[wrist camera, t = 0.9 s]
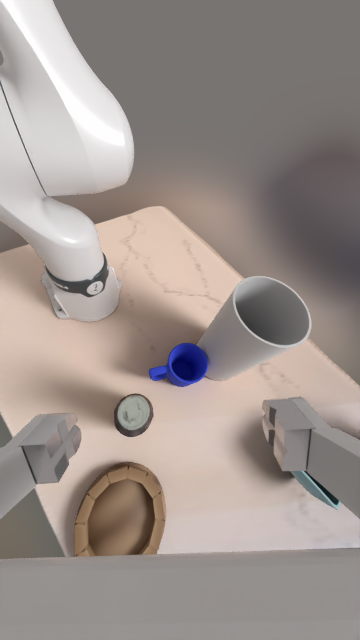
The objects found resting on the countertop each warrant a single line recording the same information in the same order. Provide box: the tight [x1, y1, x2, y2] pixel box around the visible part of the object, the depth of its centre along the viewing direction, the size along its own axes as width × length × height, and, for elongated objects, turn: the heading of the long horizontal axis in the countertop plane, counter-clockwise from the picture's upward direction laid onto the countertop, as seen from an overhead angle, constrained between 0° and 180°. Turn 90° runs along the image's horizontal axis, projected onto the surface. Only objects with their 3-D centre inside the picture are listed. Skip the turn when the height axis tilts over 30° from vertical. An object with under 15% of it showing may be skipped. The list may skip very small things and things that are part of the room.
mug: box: [149, 343, 208, 387], centre depth 42 cm, size 8×12×10 cm
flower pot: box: [290, 471, 341, 510], centre depth 38 cm, size 9×9×9 cm
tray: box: [74, 462, 166, 557], centre depth 32 cm, size 15×15×2 cm
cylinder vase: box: [196, 276, 311, 381], centre depth 39 cm, size 12×12×25 cm
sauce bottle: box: [114, 394, 153, 437], centre depth 32 cm, size 7×6×20 cm
